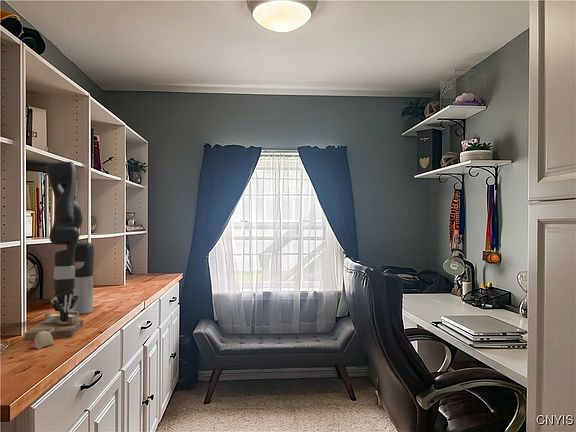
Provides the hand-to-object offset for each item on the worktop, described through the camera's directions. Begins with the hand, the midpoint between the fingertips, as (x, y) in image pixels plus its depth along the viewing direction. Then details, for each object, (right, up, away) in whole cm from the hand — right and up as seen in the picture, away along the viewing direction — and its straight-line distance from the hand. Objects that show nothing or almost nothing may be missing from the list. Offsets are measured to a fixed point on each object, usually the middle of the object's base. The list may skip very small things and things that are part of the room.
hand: (64, 321), depth 178 cm
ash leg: (-4, -1, +4) cm, 6 cm away
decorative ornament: (+2, -4, -19) cm, 19 cm away
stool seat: (-4, -4, 0) cm, 6 cm away
